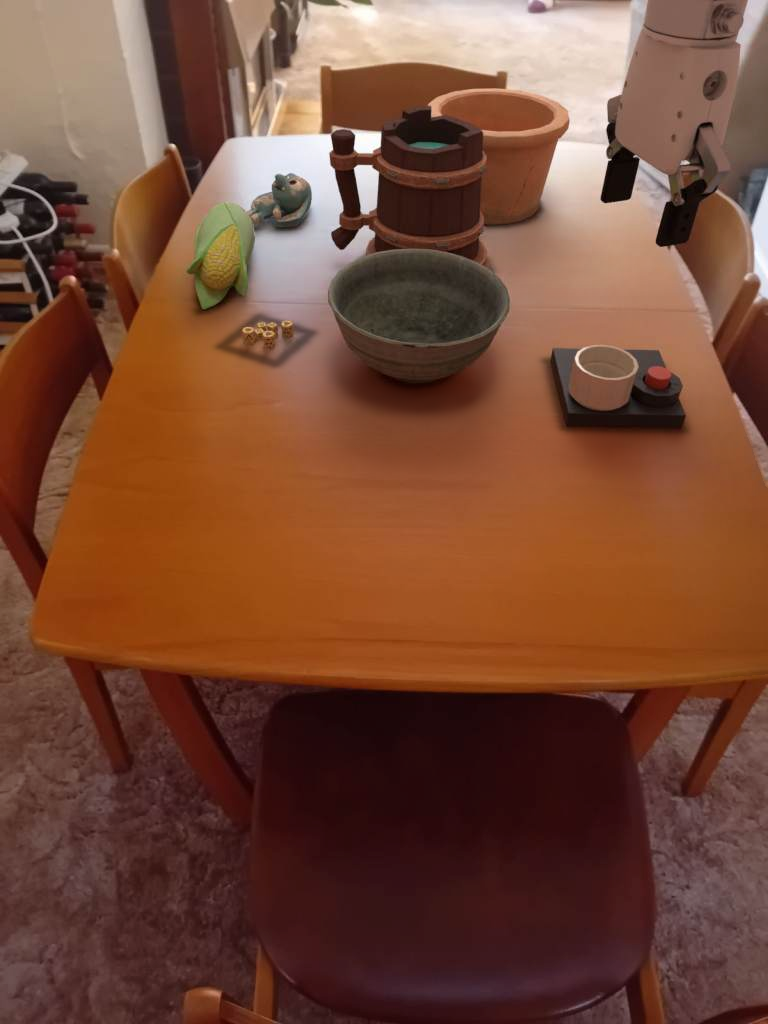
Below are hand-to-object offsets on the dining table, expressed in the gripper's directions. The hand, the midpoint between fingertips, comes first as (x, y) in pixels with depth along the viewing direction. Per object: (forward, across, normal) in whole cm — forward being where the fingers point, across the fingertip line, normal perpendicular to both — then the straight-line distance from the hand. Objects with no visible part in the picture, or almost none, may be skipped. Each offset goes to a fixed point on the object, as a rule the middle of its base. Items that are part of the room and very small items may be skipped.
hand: (641, 221), depth 75 cm
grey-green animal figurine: (+22, +60, +22) cm, 68 cm away
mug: (+22, +38, +8) cm, 45 cm away
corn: (+22, +44, +34) cm, 60 cm away
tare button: (+19, -2, -6) cm, 20 cm away
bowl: (+22, +15, +16) cm, 32 cm away
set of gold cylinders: (+23, +26, +32) cm, 47 cm away
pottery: (+22, +55, -12) cm, 61 cm away
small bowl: (+20, 0, 0) cm, 20 cm away
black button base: (+22, +2, -4) cm, 23 cm away
